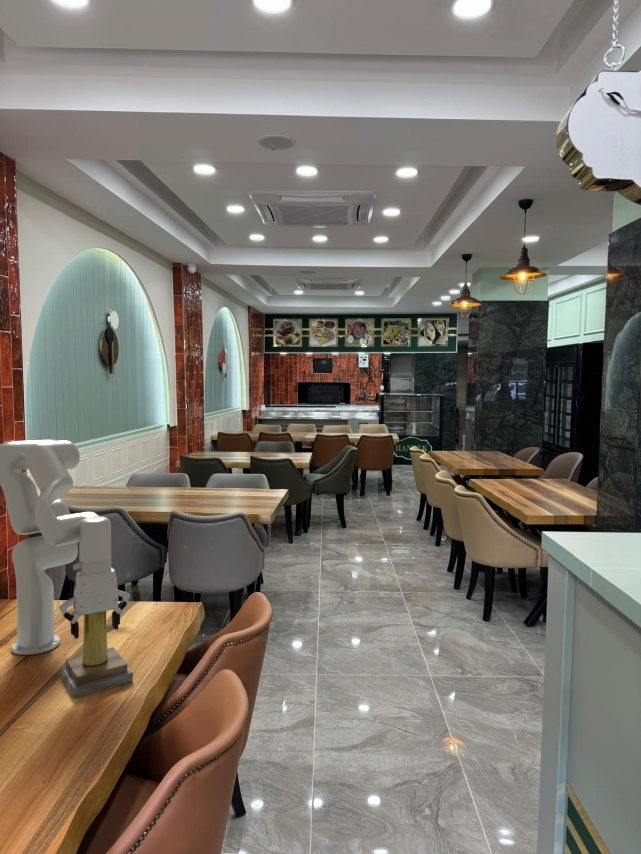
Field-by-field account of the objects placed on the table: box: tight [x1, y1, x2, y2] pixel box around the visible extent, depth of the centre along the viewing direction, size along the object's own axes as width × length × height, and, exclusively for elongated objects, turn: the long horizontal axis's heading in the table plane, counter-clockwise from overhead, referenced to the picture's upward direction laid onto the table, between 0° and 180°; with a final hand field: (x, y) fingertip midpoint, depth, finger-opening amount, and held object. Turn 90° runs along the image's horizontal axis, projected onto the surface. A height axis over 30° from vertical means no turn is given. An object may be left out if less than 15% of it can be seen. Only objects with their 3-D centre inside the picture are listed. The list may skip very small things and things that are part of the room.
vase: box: [82, 611, 108, 666], centre depth 145 cm, size 6×6×14 cm
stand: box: [60, 647, 134, 700], centre depth 145 cm, size 14×14×4 cm
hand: (95, 632), depth 144 cm, fingers open, 9 cm apart
